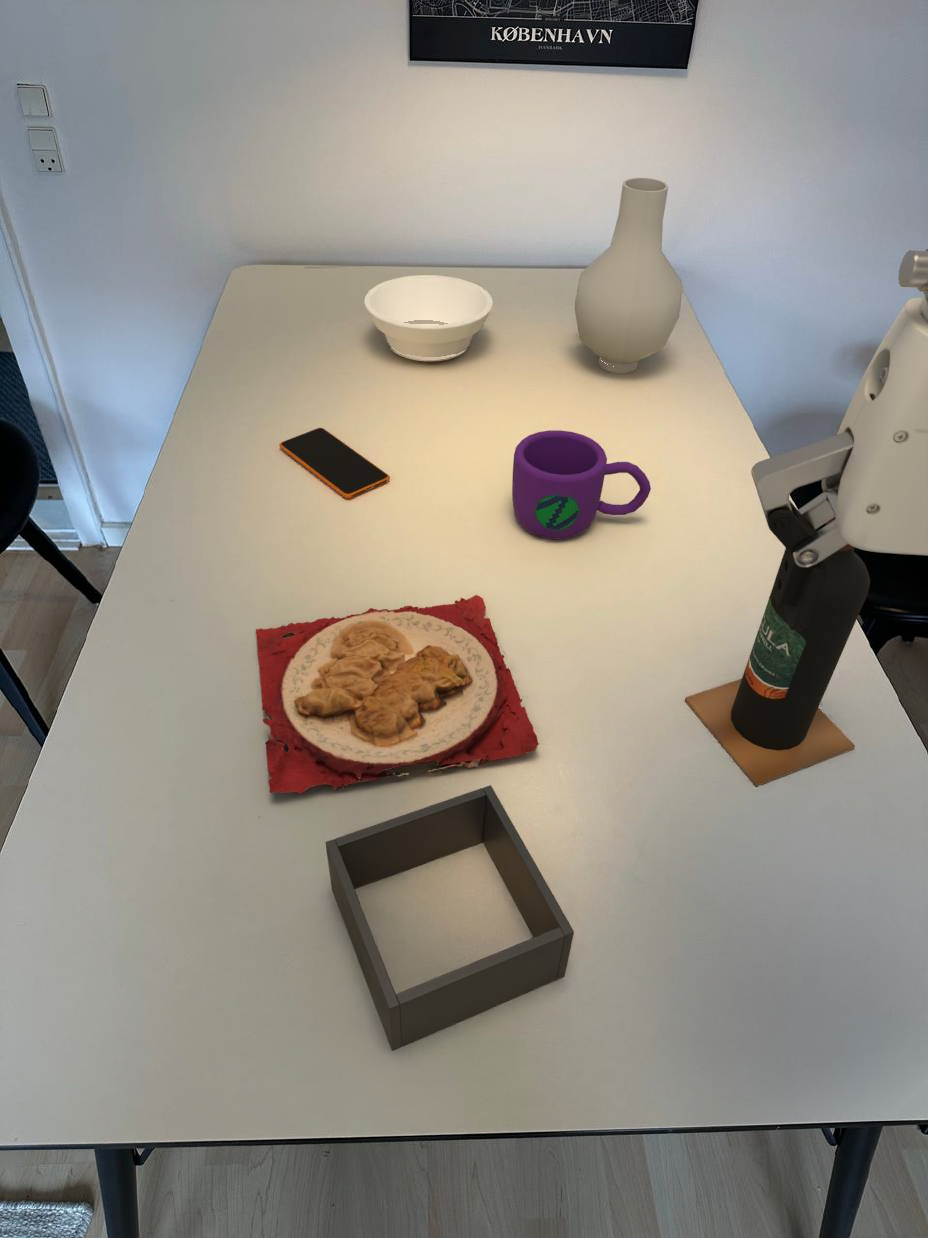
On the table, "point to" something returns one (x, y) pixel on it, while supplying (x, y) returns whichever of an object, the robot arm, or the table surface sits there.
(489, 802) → the grey square tray frame
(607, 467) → the mug
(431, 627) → the plate with food
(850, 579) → the wine bottle
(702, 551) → the table surface
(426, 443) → the table surface
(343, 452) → the smartphone
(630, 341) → the vase
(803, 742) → the cork mat
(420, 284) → the bowl
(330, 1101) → the table surface
